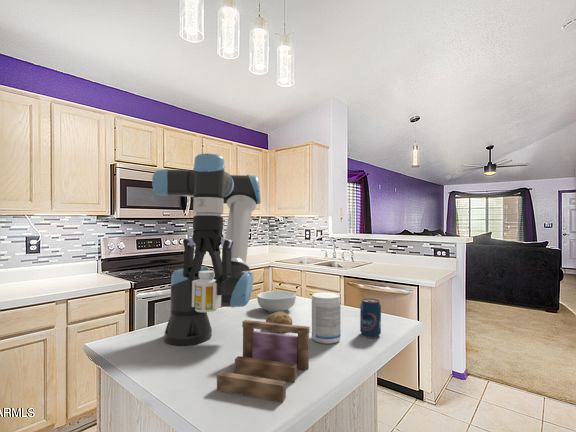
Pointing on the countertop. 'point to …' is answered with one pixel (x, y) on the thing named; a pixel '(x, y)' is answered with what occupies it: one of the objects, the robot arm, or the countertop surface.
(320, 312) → the supplement tub
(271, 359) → the wooden rack
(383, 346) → the countertop surface
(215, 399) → the countertop surface
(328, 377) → the countertop surface
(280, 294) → the cereal bowl
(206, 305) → the supplement bottle
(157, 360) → the countertop surface
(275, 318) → the bread roll
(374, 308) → the soda can
